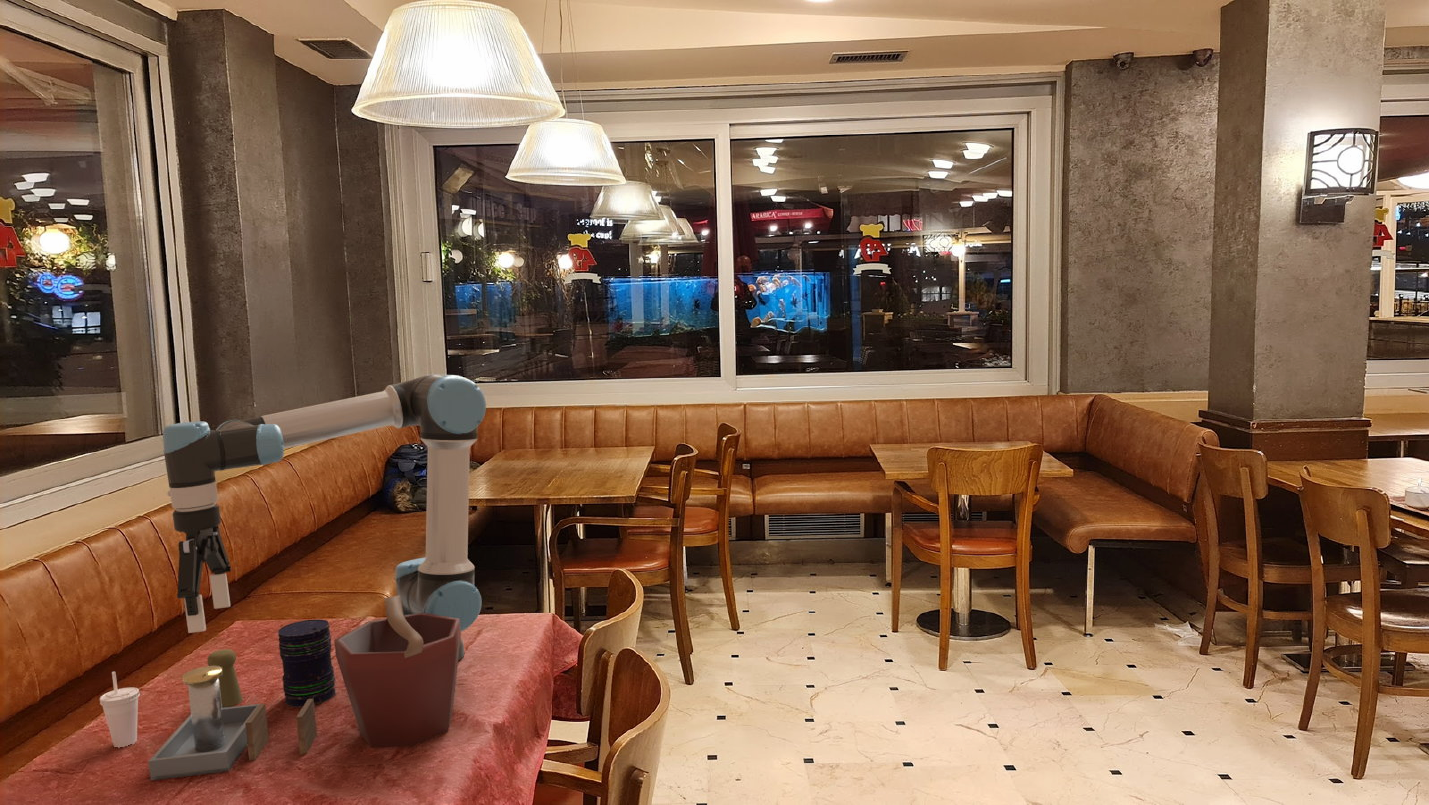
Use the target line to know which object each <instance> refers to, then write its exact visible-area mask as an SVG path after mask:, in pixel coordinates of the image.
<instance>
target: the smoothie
mask: <svg viewBox="0 0 1429 805" xmlns="http://www.w3.org/2000/svg"><path fill="white" fill-rule="evenodd" d="M111 676H112V685H113V690H111V691H109V692H106V693H104V694H103V695H100V697H99V704H100V705H101V706H102V709H103V713H104V715H105V719H106V723H107V727H108V729H109V730H108V731H109V734H110V736H111V741H112V745H113V747H114V748H115V747H118V748H117V749H120V747H123V748H126V747H125V746H127V747H129V746H128V745H130V744H132V745H134V744H136V743H137V742H138V715H139V714H138V711H139V710H138V705H139V697H140V695H141V693H140V689H139V688H137V687H122V688H119V689H118V683H117V682H118V681H117V675H116V671H111ZM136 741H137V742H136ZM135 742H136V743H135ZM130 746H131V745H130Z"/></svg>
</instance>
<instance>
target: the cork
mask: <svg viewBox="0 0 1429 805" xmlns="http://www.w3.org/2000/svg"><path fill="white" fill-rule="evenodd" d="M236 660H237V656H236V653H235V651H234V650H233V649H229V648H224V649H218V650H215V651H212V652H211V653H210V654H208V657H207V661H206V662H207V666H220V667H222V673H223V674H222V676H221V677H220V678H219V685H220V694H221V703H222V708H227V707H236V706H237V705H239V704H240V703H241V702H243V699H244V698H243V696H242V691H241V688H240V685H239V681H238V675H237V673H236V669H235V666H234V665H235V663H236Z"/></svg>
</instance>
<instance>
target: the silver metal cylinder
mask: <svg viewBox="0 0 1429 805" xmlns="http://www.w3.org/2000/svg"><path fill="white" fill-rule="evenodd" d="M222 674H223V673H222V667H220V666H208V665H207V666H206V665H205V666H201V667H197V668H193V669H191V670H188V671H186V672H185V673H184V674H182V676H181V677H182V683H183V685H187V689H188V691H187V692H188V699H189V709H190V715H191V717H192V726H193V735H194V743H195V750H196V751H197V752H209V751H213V750H216V749H218V748H221V747H222V746H224V745H225V743H226V739H225V730H224V721H223V712H222V703H221V694H220V685H219V678H220V677H221V676H222Z"/></svg>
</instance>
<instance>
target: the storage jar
mask: <svg viewBox="0 0 1429 805" xmlns="http://www.w3.org/2000/svg"><path fill="white" fill-rule="evenodd" d="M277 635H278V642H279V643H278V649H279V650H278V651H279V656H280V659H281V661H282V671H283V672H282V673H283V675H282V683H283V685H282V688H283V689H282V690H283V693H284V696H285V697H284V701H285V702H284V703H285V705H286V704H287V706H288V705H289V706H288V707H292V708H303V706H304V705H305V703H306V701H307V700H308V699H314V706H316V705H319V703H320V704H323V703H325V702H327V701H329V700H331V699H332V698H334V696H335V695H336V694H337V692H336V688H335V686H336V683H335V681H336V676H335V668H334V666H333V665H332V664H333V663H332V655H331V654H332V653H331V650H332V647H333V646H332V635H331V631H330V623H329V621H328V620H325V619H318V618H317V619H305V620H300V621H296V622H292V623H288V624H286V625H284V626H282V627H280V628H279V629H278V631H277ZM322 702H323V703H322Z"/></svg>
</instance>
